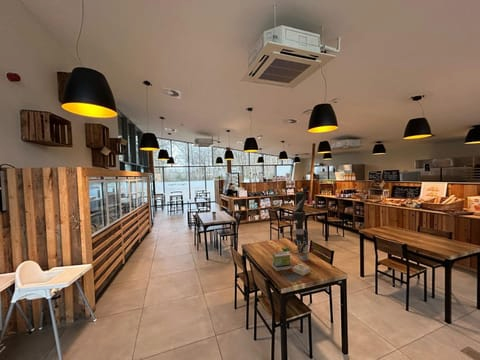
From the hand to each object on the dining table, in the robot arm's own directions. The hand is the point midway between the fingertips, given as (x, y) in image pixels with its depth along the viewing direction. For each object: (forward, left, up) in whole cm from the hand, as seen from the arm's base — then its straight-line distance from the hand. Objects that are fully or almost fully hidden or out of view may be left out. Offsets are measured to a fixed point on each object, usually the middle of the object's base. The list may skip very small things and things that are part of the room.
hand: (300, 250), depth 194 cm
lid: (0, 0, -2) cm, 2 cm away
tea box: (-19, -7, -21) cm, 29 cm away
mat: (0, -15, -21) cm, 26 cm away
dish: (0, 0, -21) cm, 21 cm away
